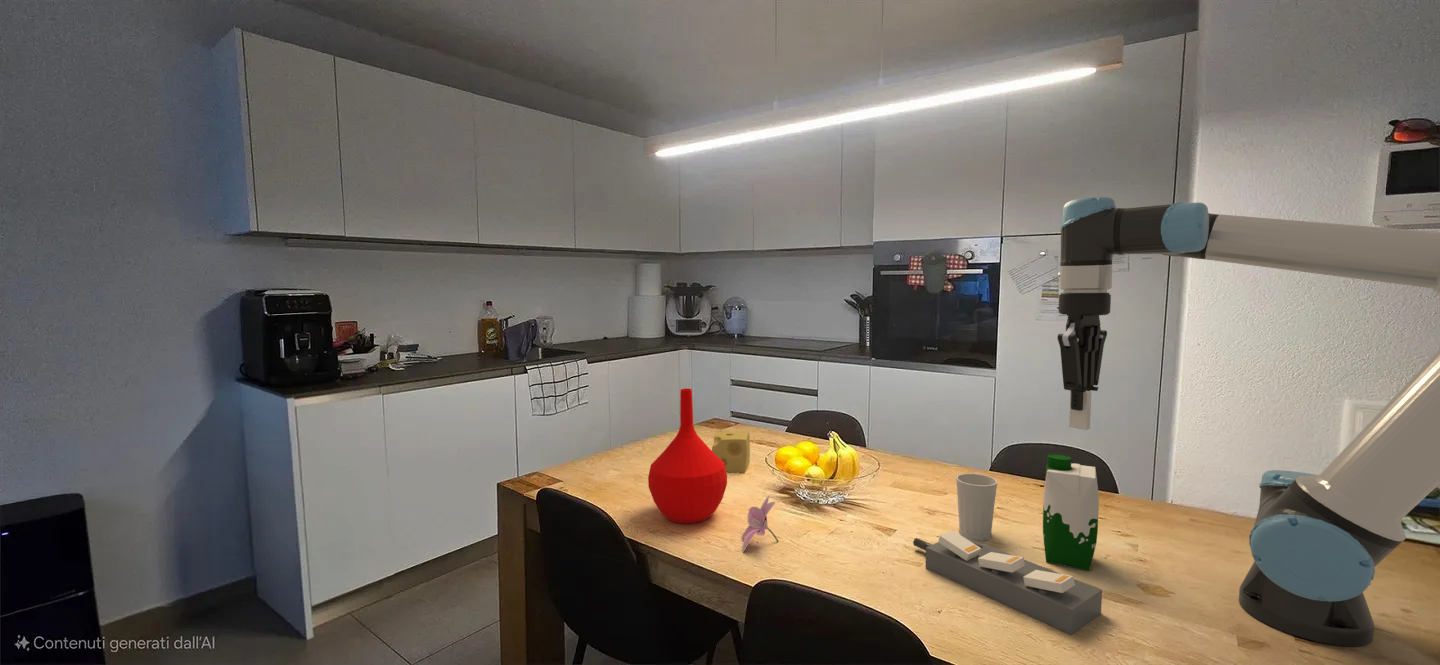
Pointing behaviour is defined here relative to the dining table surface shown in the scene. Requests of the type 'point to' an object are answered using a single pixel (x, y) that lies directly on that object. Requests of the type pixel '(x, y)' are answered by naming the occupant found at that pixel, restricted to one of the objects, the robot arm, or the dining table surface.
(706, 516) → the vase
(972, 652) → the dining table surface
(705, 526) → the dining table surface
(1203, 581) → the dining table surface
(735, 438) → the cheese
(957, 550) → the rocker
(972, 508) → the cup
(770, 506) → the lily
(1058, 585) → the rocker
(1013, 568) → the rocker
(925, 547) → the power strip
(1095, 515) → the milk carton
